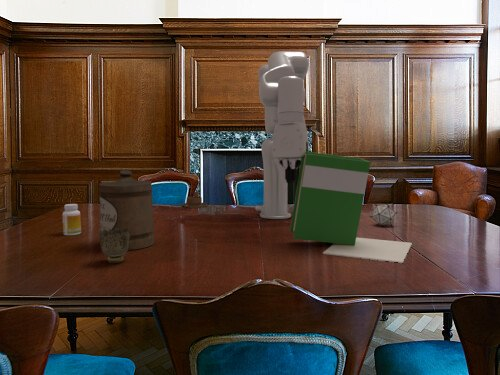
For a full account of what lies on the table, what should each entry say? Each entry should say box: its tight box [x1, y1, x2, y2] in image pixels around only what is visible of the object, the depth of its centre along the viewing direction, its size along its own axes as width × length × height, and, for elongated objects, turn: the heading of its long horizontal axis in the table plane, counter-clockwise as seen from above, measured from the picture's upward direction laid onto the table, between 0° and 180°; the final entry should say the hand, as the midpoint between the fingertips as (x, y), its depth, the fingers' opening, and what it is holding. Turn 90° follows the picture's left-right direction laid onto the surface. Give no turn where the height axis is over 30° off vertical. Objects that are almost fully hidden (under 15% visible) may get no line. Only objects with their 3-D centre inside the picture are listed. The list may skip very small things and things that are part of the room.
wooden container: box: [98, 168, 155, 251], centre depth 119 cm, size 15×15×22 cm
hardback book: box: [289, 151, 371, 245], centre depth 117 cm, size 18×7×24 cm, turn 93°
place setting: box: [181, 191, 213, 209], centre depth 199 cm, size 18×20×6 cm
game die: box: [369, 202, 399, 227], centre depth 147 cm, size 9×8×10 cm
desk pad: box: [322, 236, 413, 264], centre depth 114 cm, size 20×22×1 cm
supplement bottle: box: [62, 203, 82, 236], centre depth 134 cm, size 5×5×10 cm
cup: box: [98, 228, 130, 264], centre depth 102 cm, size 8×7×8 cm
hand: (290, 182), depth 121 cm, fingers closed
